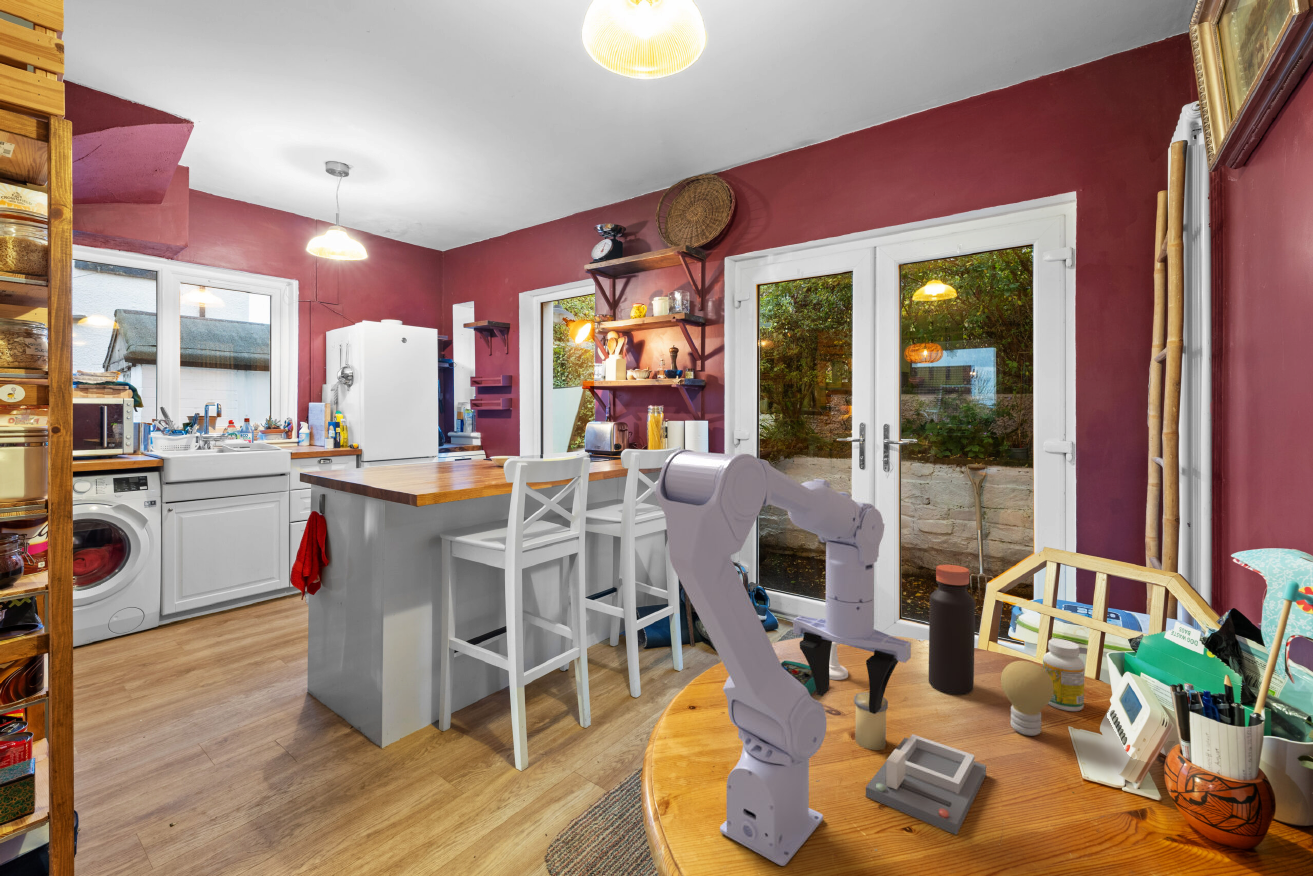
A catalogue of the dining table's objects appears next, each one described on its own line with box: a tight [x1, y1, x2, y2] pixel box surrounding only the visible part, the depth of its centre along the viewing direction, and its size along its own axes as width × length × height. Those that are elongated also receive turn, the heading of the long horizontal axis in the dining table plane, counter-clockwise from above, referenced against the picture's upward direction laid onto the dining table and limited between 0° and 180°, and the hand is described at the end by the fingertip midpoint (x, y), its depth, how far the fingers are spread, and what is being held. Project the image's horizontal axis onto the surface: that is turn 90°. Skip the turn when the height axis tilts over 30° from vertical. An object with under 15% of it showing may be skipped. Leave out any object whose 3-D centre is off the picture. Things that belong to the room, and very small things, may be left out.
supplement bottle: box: [1042, 638, 1086, 712], centre depth 93 cm, size 5×5×10 cm
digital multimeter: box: [780, 660, 816, 696], centre depth 97 cm, size 8×15×3 cm, turn 143°
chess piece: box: [829, 641, 849, 681], centre depth 104 cm, size 5×5×10 cm
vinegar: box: [928, 564, 976, 696], centre depth 98 cm, size 7×7×20 cm
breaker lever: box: [886, 748, 905, 790], centre depth 71 cm, size 3×1×3 cm, turn 139°
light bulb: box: [1000, 660, 1053, 737], centre depth 85 cm, size 6×6×10 cm
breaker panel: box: [865, 733, 987, 836], centre depth 73 cm, size 14×10×2 cm
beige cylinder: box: [853, 691, 889, 751], centre depth 82 cm, size 4×4×6 cm
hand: (848, 701), depth 75 cm, fingers open, 6 cm apart
